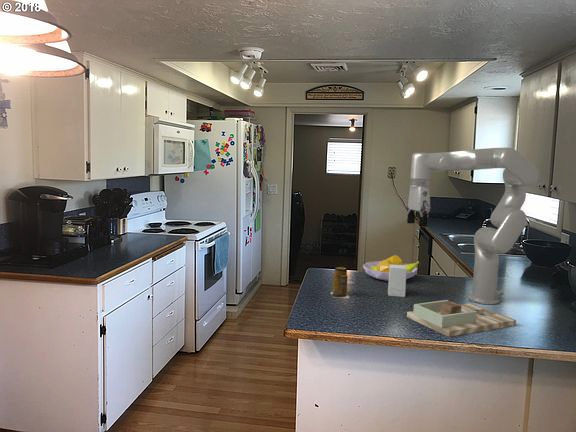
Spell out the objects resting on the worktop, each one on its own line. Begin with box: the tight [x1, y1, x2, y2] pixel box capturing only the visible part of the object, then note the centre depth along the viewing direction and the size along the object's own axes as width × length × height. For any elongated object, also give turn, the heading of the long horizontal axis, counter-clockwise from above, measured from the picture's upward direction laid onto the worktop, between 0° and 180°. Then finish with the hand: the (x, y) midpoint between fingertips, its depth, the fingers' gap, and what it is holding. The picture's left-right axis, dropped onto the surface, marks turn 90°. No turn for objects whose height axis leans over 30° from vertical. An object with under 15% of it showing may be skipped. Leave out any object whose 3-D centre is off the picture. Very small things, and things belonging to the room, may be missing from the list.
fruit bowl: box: [362, 254, 420, 282], centre depth 243 cm, size 28×27×11 cm
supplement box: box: [387, 265, 407, 298], centre depth 215 cm, size 7×7×13 cm
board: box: [406, 302, 517, 338], centre depth 181 cm, size 32×22×2 cm
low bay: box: [412, 299, 477, 328], centre depth 177 cm, size 16×15×4 cm
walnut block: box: [441, 301, 462, 315], centre depth 179 cm, size 5×5×5 cm
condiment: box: [330, 266, 350, 299], centre depth 210 cm, size 7×8×12 cm
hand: (416, 224), depth 200 cm, fingers open, 9 cm apart
